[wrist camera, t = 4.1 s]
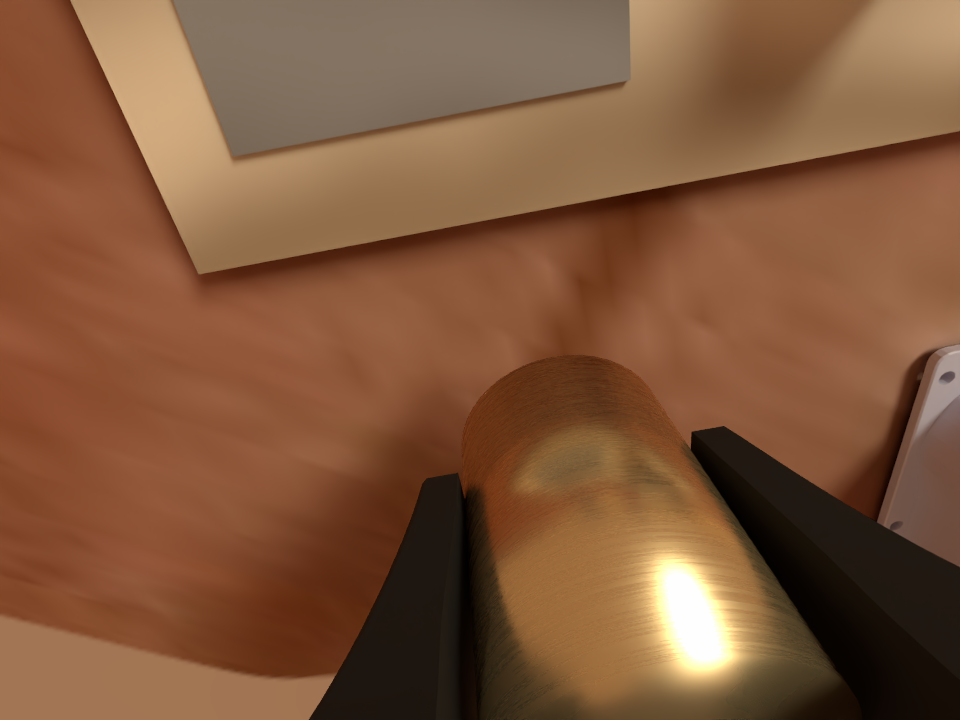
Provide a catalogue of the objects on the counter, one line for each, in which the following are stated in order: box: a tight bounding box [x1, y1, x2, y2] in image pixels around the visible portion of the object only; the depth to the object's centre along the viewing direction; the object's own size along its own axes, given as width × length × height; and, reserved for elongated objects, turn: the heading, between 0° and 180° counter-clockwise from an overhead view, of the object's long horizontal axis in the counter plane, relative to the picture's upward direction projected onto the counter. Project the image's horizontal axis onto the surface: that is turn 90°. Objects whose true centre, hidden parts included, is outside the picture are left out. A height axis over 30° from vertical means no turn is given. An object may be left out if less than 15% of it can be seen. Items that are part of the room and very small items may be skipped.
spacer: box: [462, 355, 862, 720], centre depth 9 cm, size 4×4×6 cm
